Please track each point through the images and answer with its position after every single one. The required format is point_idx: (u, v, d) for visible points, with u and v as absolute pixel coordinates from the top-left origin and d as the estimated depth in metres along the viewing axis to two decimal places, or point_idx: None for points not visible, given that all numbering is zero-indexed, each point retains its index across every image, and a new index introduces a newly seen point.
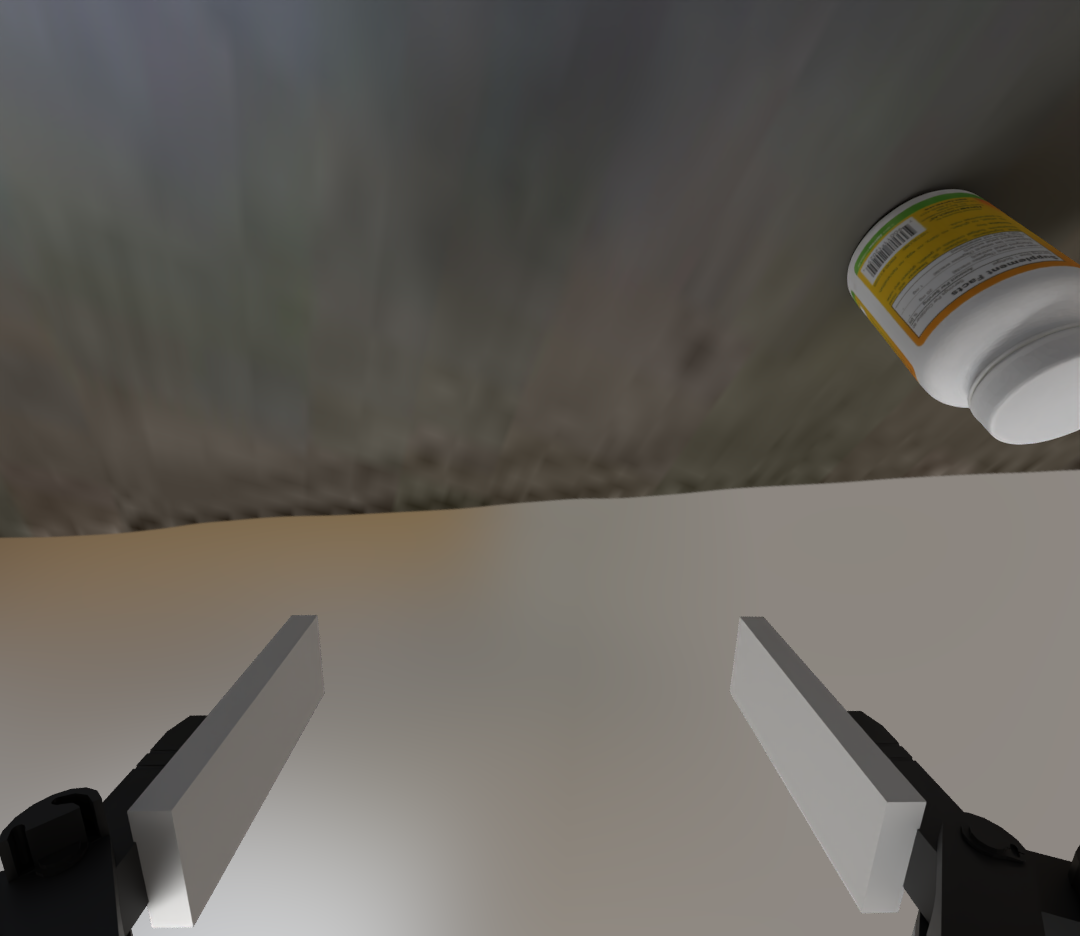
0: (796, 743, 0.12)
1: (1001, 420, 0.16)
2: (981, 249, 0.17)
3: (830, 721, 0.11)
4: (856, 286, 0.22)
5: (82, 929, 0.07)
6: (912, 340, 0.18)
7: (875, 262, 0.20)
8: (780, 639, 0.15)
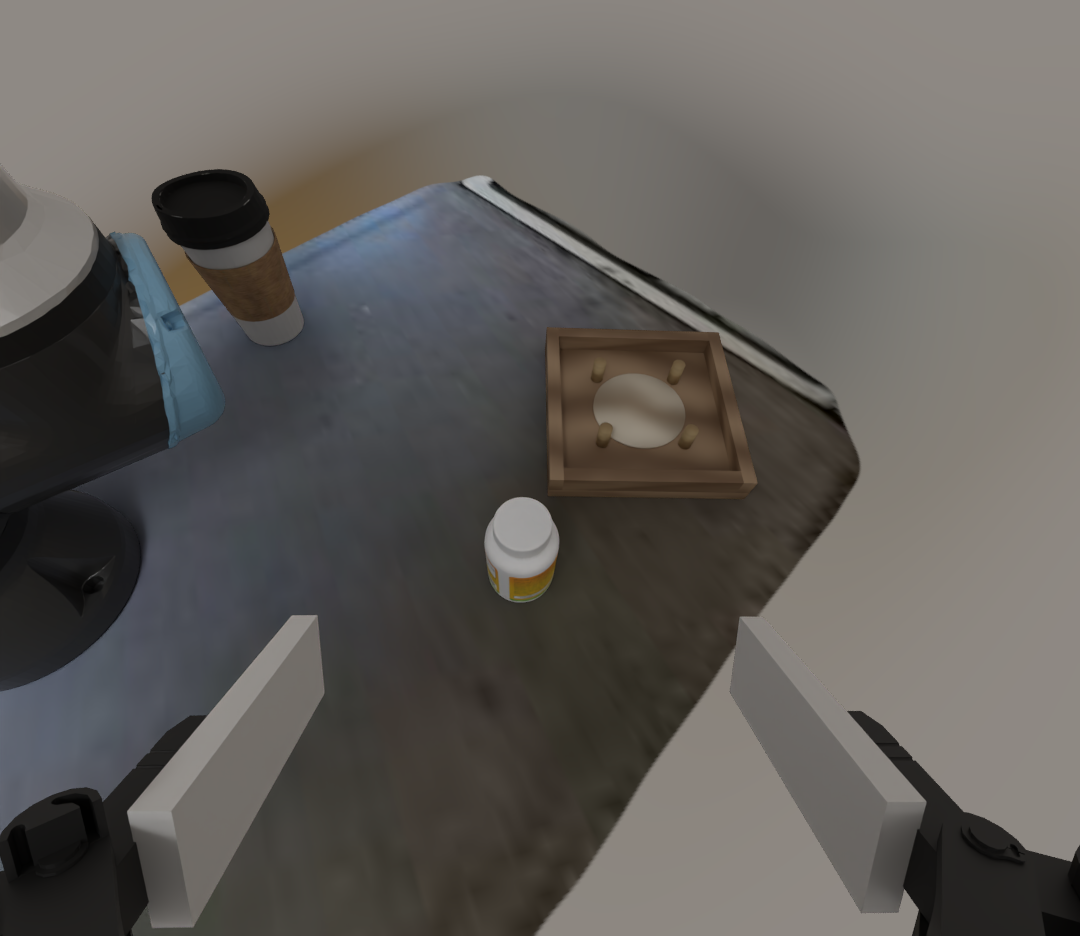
0: (796, 743, 0.12)
1: (513, 545, 0.33)
2: None
3: (830, 721, 0.11)
4: (504, 595, 0.39)
5: (82, 929, 0.07)
6: (497, 572, 0.36)
7: (491, 581, 0.39)
8: (779, 639, 0.15)
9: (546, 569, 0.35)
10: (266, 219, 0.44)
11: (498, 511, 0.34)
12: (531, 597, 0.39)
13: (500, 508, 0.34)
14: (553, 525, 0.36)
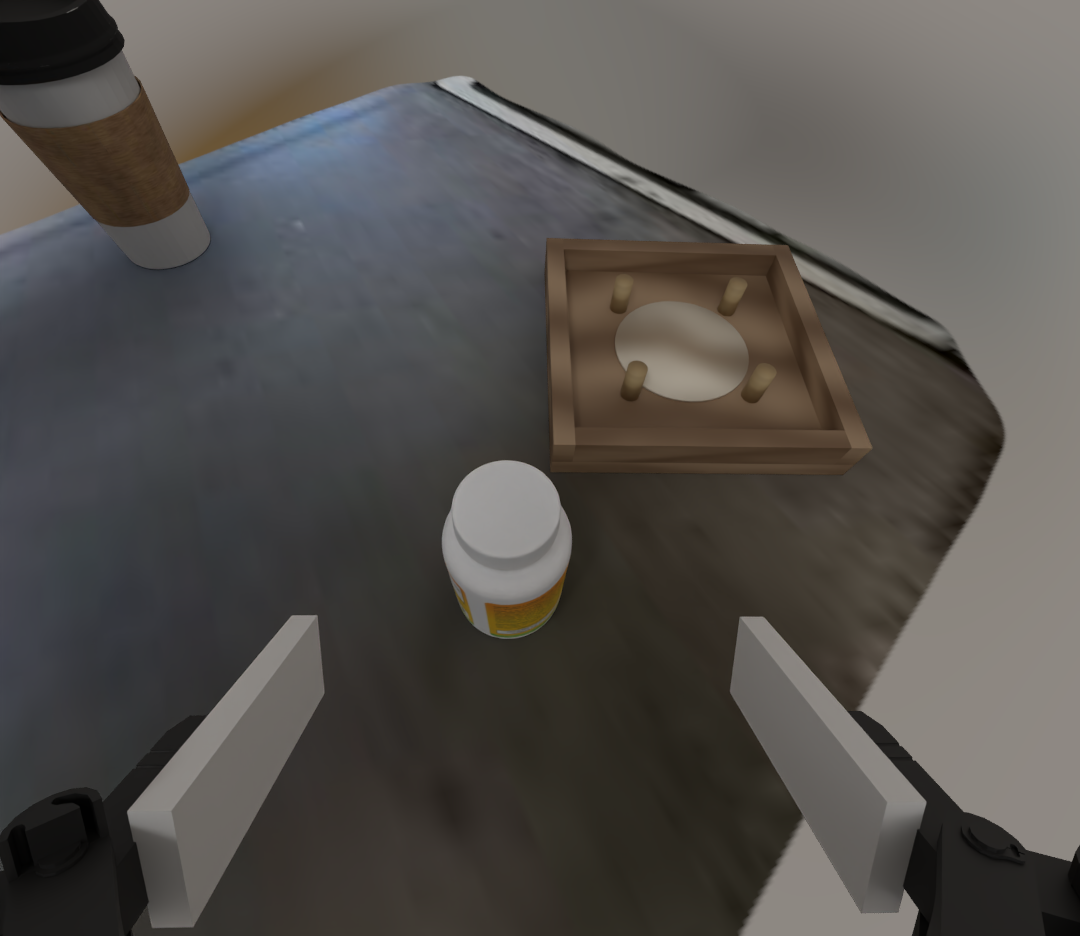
0: (796, 743, 0.12)
1: (487, 547, 0.17)
2: None
3: (830, 721, 0.11)
4: (481, 628, 0.24)
5: (82, 929, 0.07)
6: (465, 594, 0.20)
7: (460, 605, 0.24)
8: (780, 640, 0.15)
9: (550, 588, 0.20)
10: (116, 50, 0.29)
11: (462, 485, 0.19)
12: (525, 631, 0.24)
13: (466, 480, 0.19)
14: (561, 511, 0.21)
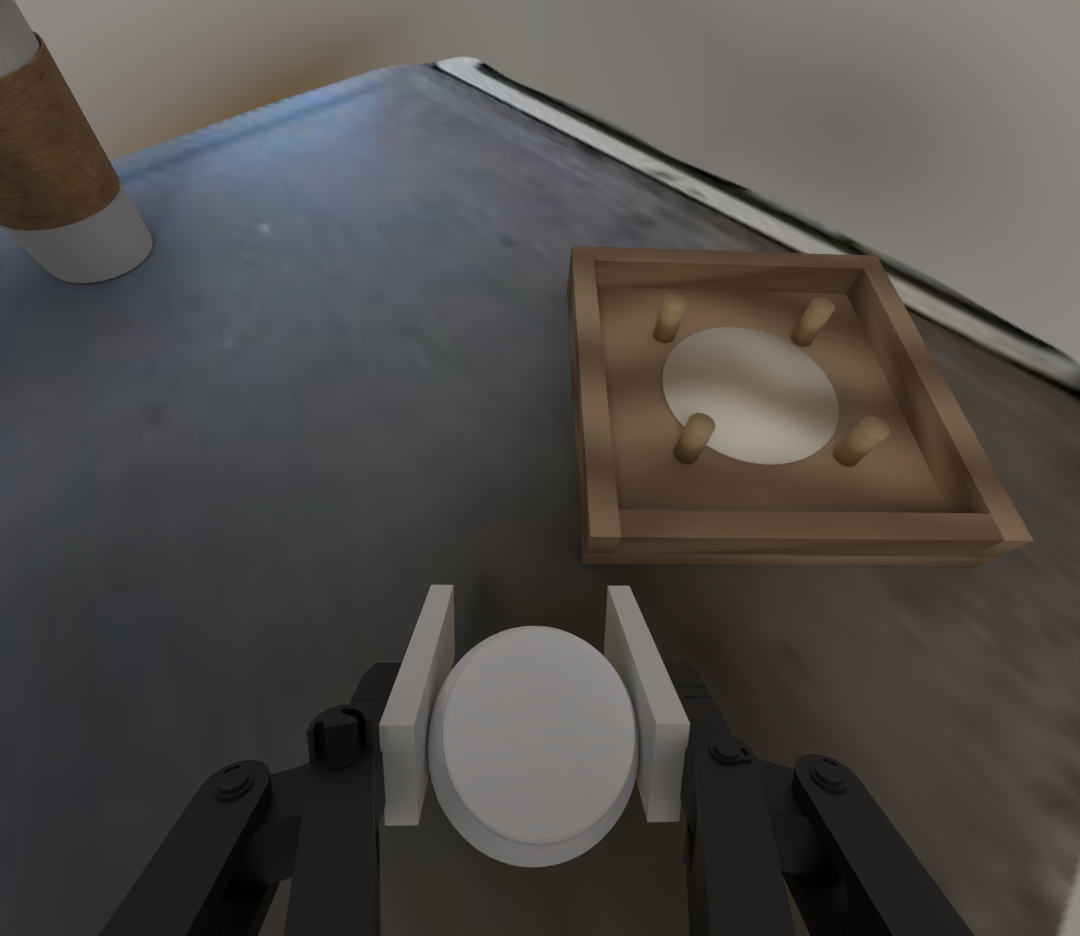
0: None
1: (507, 821, 0.09)
2: None
3: (642, 666, 0.13)
4: None
5: (350, 822, 0.09)
6: None
7: None
8: (635, 604, 0.16)
9: None
10: None
11: (461, 681, 0.11)
12: None
13: (468, 670, 0.11)
14: None
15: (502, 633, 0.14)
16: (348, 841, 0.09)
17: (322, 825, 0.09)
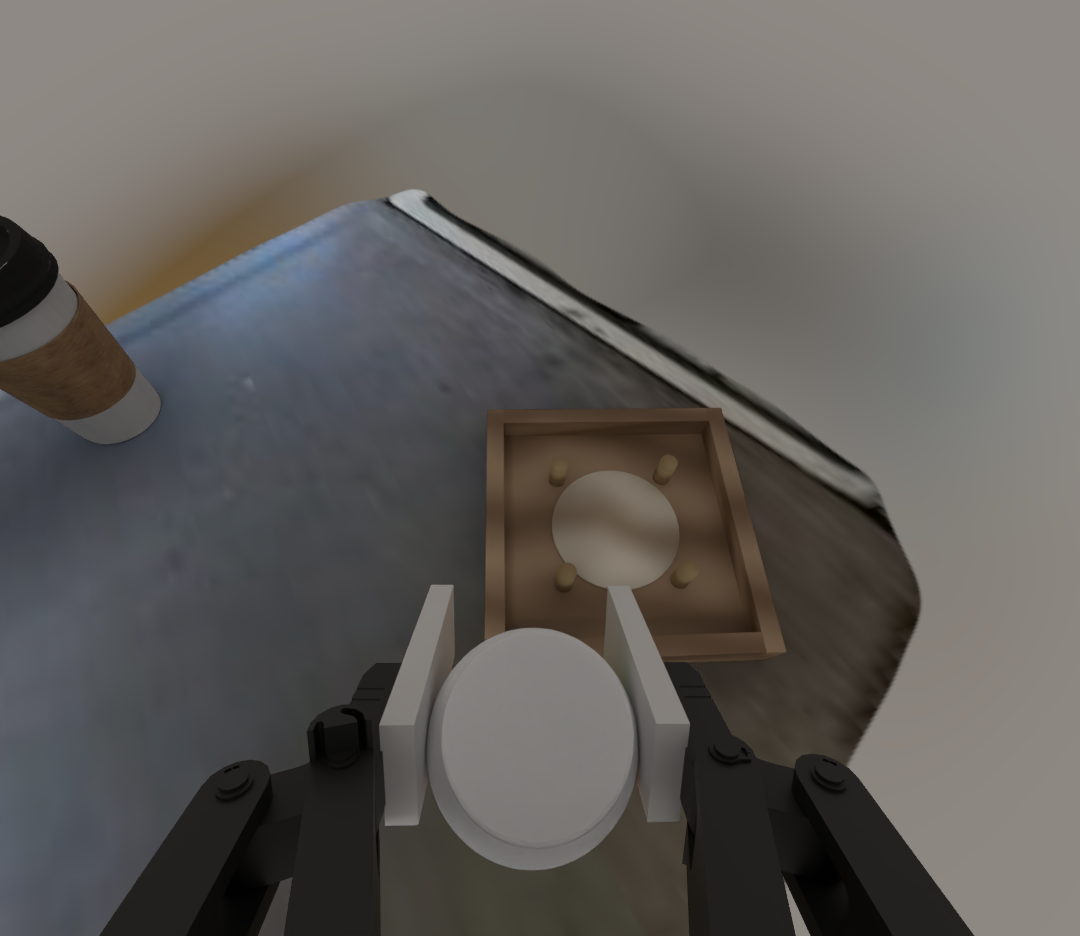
0: (627, 689, 0.14)
1: (506, 824, 0.09)
2: None
3: (642, 666, 0.13)
4: None
5: (350, 822, 0.09)
6: None
7: None
8: (635, 604, 0.16)
9: None
10: (49, 286, 0.29)
11: (460, 684, 0.11)
12: None
13: (467, 673, 0.11)
14: None
15: (501, 635, 0.14)
16: (348, 841, 0.09)
17: (323, 825, 0.09)
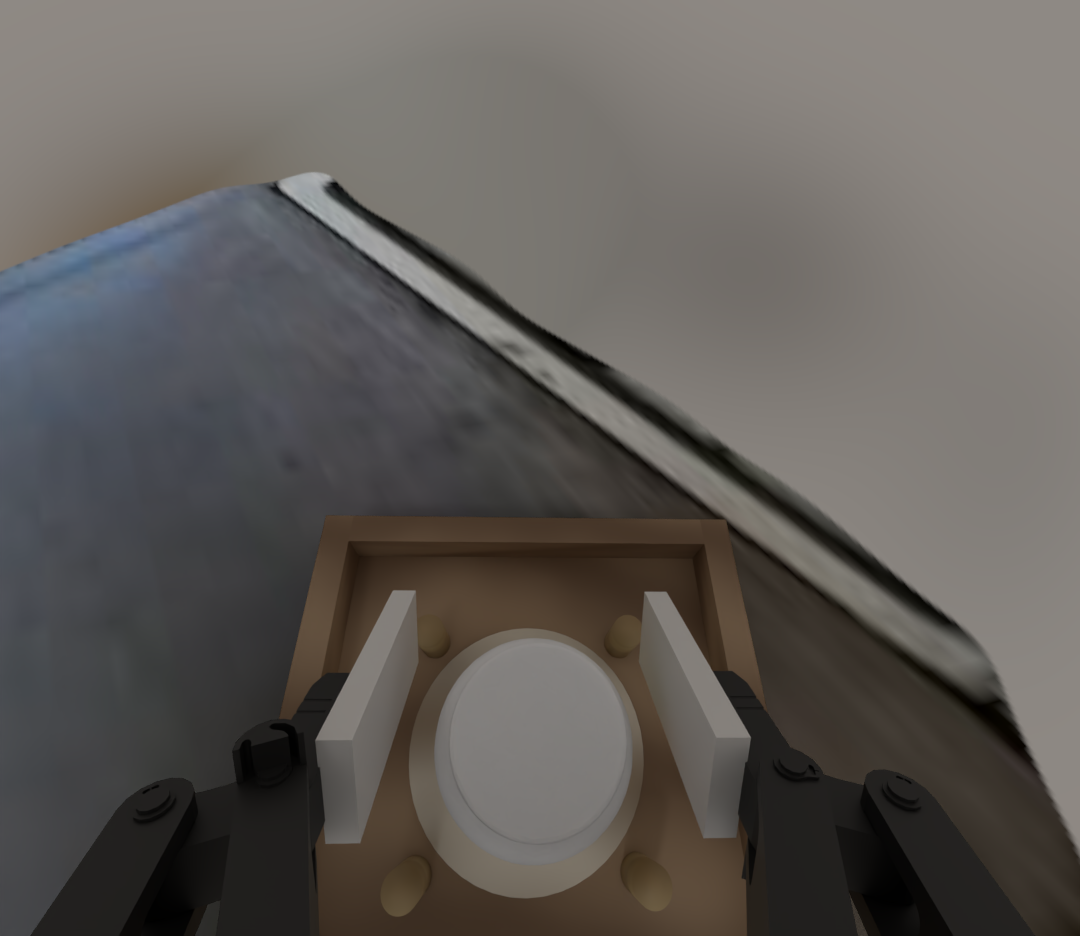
0: (672, 699, 0.14)
1: (508, 822, 0.10)
2: None
3: (692, 676, 0.13)
4: None
5: (283, 840, 0.09)
6: None
7: None
8: (675, 611, 0.16)
9: None
10: None
11: (466, 693, 0.11)
12: None
13: (473, 682, 0.12)
14: None
15: (504, 645, 0.14)
16: (281, 860, 0.08)
17: (252, 847, 0.08)
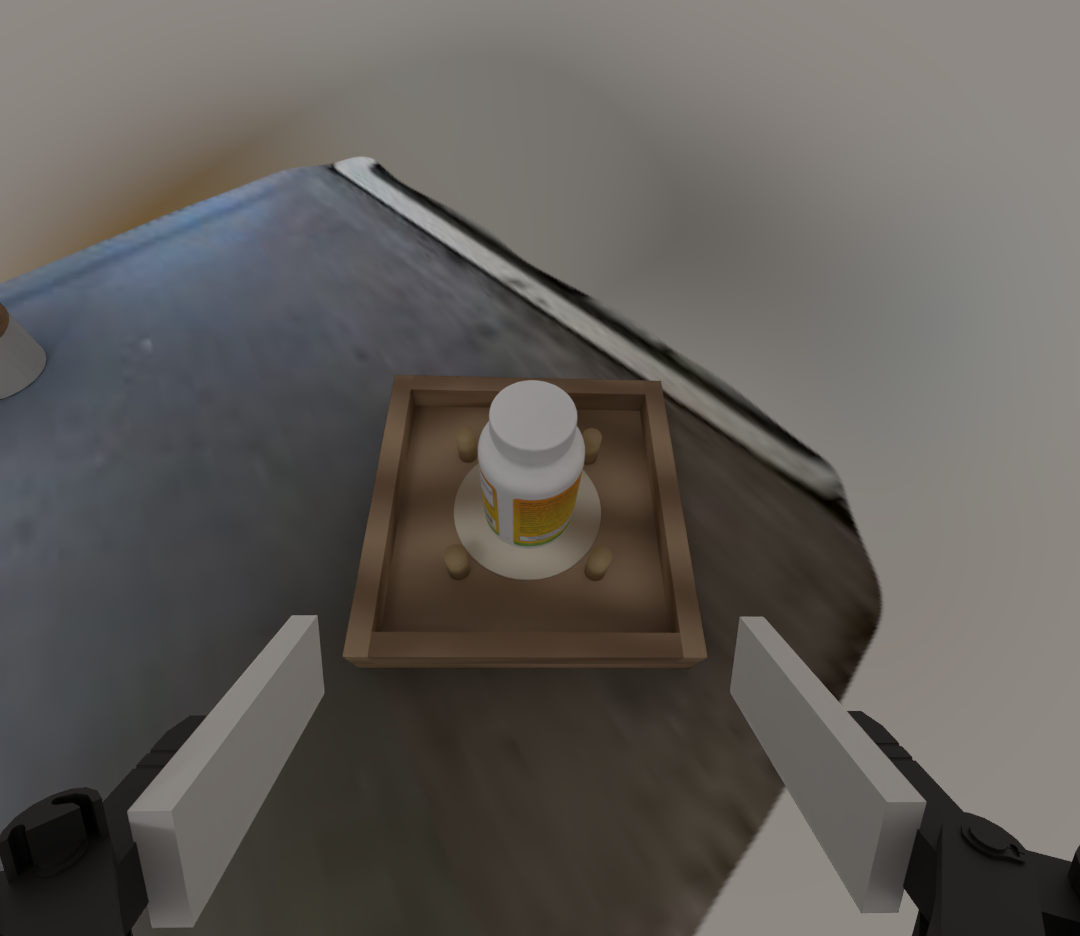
0: (796, 743, 0.12)
1: (519, 442, 0.22)
2: None
3: (830, 721, 0.11)
4: (506, 536, 0.28)
5: (82, 929, 0.07)
6: (496, 494, 0.25)
7: (488, 517, 0.28)
8: (780, 640, 0.15)
9: (567, 489, 0.24)
10: None
11: (497, 397, 0.23)
12: (543, 540, 0.28)
13: (500, 393, 0.23)
14: (576, 428, 0.25)
15: None
16: None
17: None
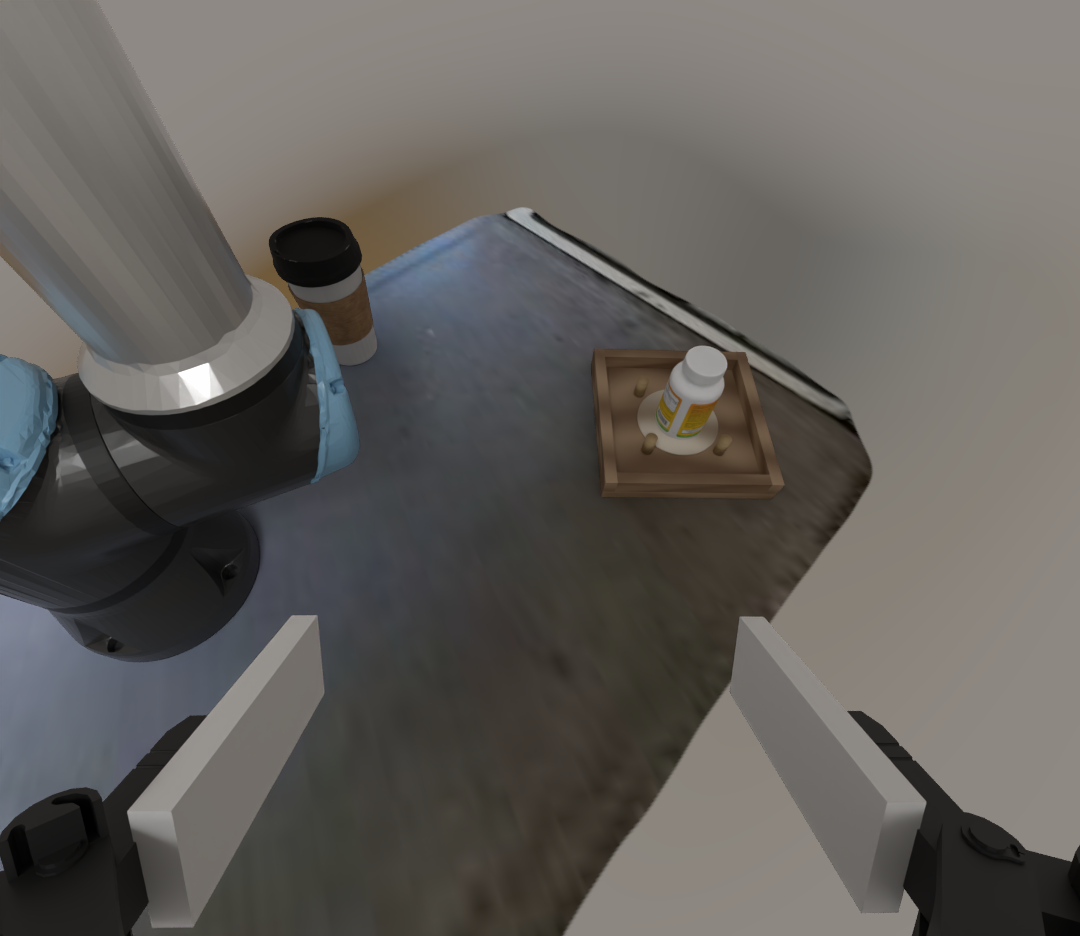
0: (796, 743, 0.12)
1: (703, 373, 0.47)
2: (665, 387, 0.53)
3: (830, 721, 0.11)
4: (673, 431, 0.54)
5: (82, 929, 0.07)
6: (681, 402, 0.50)
7: (663, 421, 0.54)
8: (780, 640, 0.15)
9: (716, 399, 0.50)
10: (360, 259, 0.51)
11: (688, 353, 0.48)
12: (693, 433, 0.54)
13: (689, 351, 0.48)
14: None
15: None
16: None
17: None
